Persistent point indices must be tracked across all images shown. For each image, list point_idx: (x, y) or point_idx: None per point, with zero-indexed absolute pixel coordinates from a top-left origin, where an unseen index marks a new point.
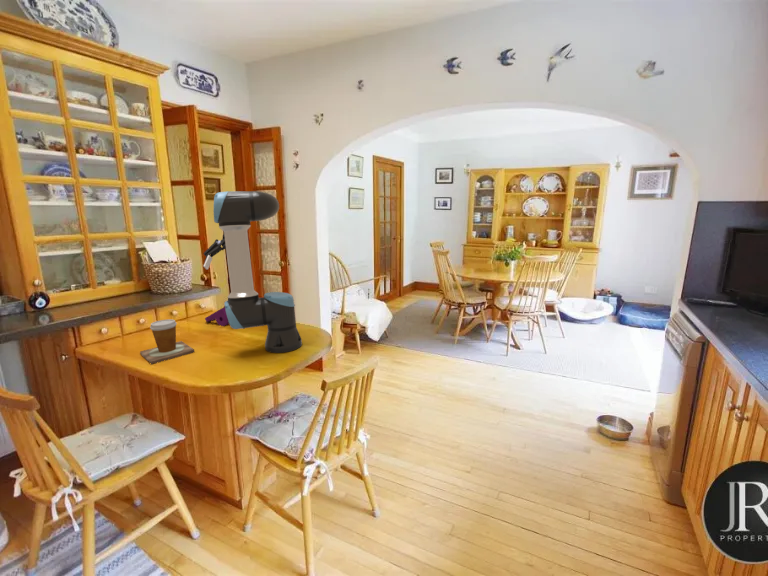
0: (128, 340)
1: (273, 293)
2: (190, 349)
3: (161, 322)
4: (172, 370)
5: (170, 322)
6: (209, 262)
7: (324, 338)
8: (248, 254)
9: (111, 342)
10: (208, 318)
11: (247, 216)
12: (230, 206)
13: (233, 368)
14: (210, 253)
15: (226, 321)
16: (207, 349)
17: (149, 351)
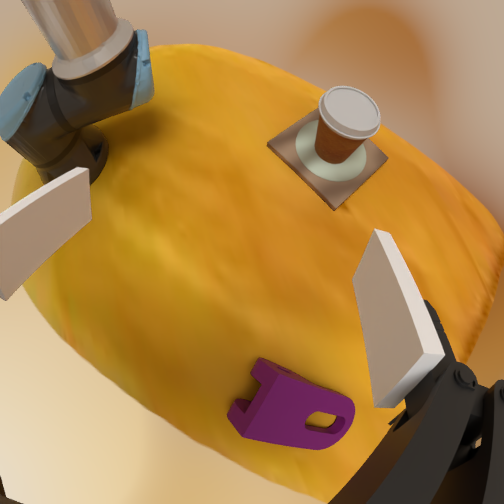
0: (465, 261)
1: (20, 90)
2: (277, 143)
3: (362, 115)
4: (266, 78)
5: (335, 108)
6: (374, 323)
7: (12, 201)
8: None
9: (483, 253)
10: (338, 393)
11: None
12: None
13: (159, 77)
14: (431, 397)
15: (260, 358)
16: (241, 157)
17: (368, 152)
